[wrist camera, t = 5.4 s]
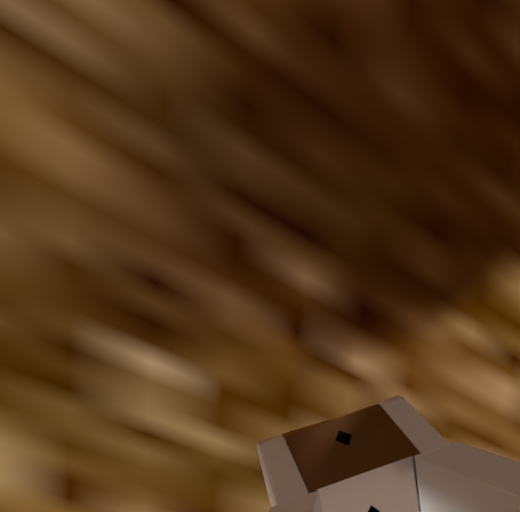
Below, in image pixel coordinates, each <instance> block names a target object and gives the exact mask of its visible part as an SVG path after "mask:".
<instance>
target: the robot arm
mask: <svg viewBox="0 0 520 512" xmlns="http://www.w3.org/2000/svg"><path fill="white" fill-rule="evenodd" d="M257 450H258V454H259V458H260V463H261V467H262V471H263V475H264V480H265V484H266V488H267V492H268V496H269V499H270V503H271V508H270V511H269V512H520V462H518V461H515V460H512V459H509V458H506V457H502V456H499V455H496V454H493V453H490V452H487V451H484V450H481V449H478V448H475V447H472V446H469V445H466V444H462V443H459V442H453V443H450V444H449V443H448V442H447V441H446V440H445V439H444V438H443V437H442V436H441V435H440V434H439V433H438V432H437V431H436V430H435V429H434V428H433V427H432V426H431V425H430V424H429V423H428V422H427V421H426V420H425V419H424V418H423V417H422V416H421V415H420V414H419V413H418V412H417V411H416V410H415V409H414V407H413V406H412V405H411V404H410V403H409V402H408V401H407V400H406V399H405V398H404V397H402V396H399V395H398V396H395V397H392V398H389V399H387V400H384V401H381V402H378V403H376V404H375V405H372V406H369V407H366V408H363V409H360V410H357V411H354V412H351V413H348V414H345V415H343V416H340V417H337V418H334V419H331V420H326V421H323V422H320V423H316V424H313V425H310V426H307V427H303V428H300V429H297V430H294V431H290V432H287V433H284V434H282V435H278V436H275V437H272V438H269V439H265V440H262V441H259V442H257Z"/></svg>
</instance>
